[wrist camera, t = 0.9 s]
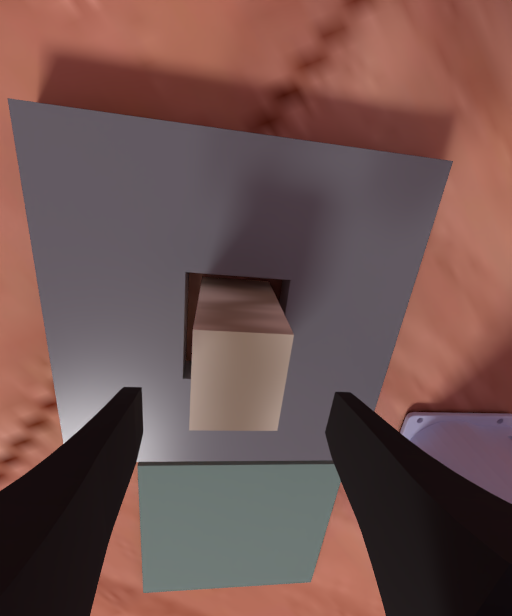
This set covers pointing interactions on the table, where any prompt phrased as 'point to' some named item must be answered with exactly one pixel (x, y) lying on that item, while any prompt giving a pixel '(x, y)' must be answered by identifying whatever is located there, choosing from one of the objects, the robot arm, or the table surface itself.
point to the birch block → (238, 356)
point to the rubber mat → (232, 522)
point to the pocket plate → (215, 263)
